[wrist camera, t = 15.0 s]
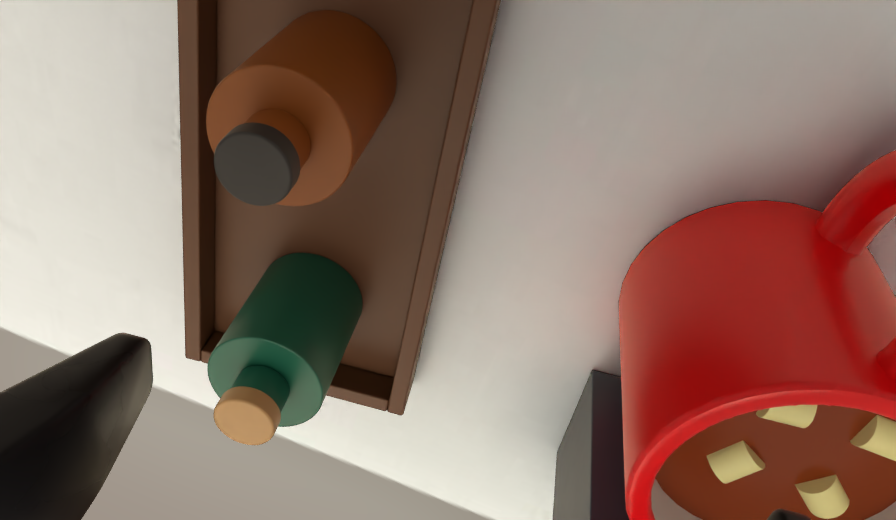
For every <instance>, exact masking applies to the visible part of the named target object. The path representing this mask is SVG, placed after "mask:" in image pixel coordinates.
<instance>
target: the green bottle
mask: <svg viewBox="0 0 896 520" xmlns="http://www.w3.org/2000/svg"><path fill="white" fill-rule="evenodd" d="M362 305H363V303H362V296H361V292H360V290H359V287H358V285H357V284H356V282H355V280H354V279H353V278H352V276H351V275H350V274H349V273H348V272H347V271H346V270H345V269H344V268H342V267H341V266H340V265H338V264H337V263H335V262H334V261H332V260H330V259H328V258H325V257H323V256H320V255H316V254H311V253H293V254H288V255H285V256H283V257H280V258H278V259H277V260H275V261H274V262H273V263H272V264H271V265H270V266H269V267H268V268H267V270H266V271H265V273H264V274H263V276H262V277H261V279H260V281H259V282H258V284H257V285H256V287H255V288H254V290H253V291H252V293H251V294H250V296H249V297H248V299H247V300H246V302H245V303H244V305H243V306H242V308H241V309H240V311H239V312H238V314H237V315H236V317H235V318H234V320H233V321H232V323H231V324H230V326H229V327H228V329H227V330H226V332H225V333H224V335H223V336H222V338H221V340H220V341H219V343H218V344H217V346H216V347H215V349H214V350H213V352H212V353H211V355H210V357H209V361H208V376H209V380H210V382H211V385H212V387H213V389H214V390H215V392H216V393H217V395H218V396H219V397H220V398H221V399H220V400H219V402H218V404H217V405H216V407H215V409H214V420H215V423H216V425H217V427H218V428H219V429H220V430H221V431H222V432H223V433H224V434H225V435H226V436H228V437H229V438H231V439H233V440H234V441H237V442H239V443H243V444H247V445H260V444H263V443H265V442H267V441H269V440H270V439H271V438H272V437H273V435H274V433H275V431H276V429H277V427H286V426H294V425H298V424H301V423H304V422H306V421H308V420H309V419H311V418H312V417H313V416H314V415H315V414H316V413H317V412H318V411H319V409H320V407H321V405H322V403H323V401H324V398H325V396H326V394H327V391H328V389H329V387H330V384H331V382H332V380H333V378H334V375H335V373H336V371H337V368H338V366H339V364H340V361H341V359H342V357H343V355H344V352H345V350H346V348H347V345H348V343H349V341H350V339H351V336H352V334H353V332H354V329H355V327H356V325H357V322H358V320H359V318H360V316H361V312H362Z"/></svg>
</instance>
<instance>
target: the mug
mask: <svg viewBox="0 0 896 520" xmlns="http://www.w3.org/2000/svg"><path fill="white" fill-rule="evenodd" d="M895 216H896V150H894V151H892V152H890V153H888V154H886V155H884V156H882V157H880V158H879V159H877V160H876V161H874V162H872V163H871V164H869V165H868V166H867V167H865V168H864V169H863V170H861V171H860V172H859V173H858V174H857V175H855V176H854V177H853V178H852V179H851V180H850V181H849V182H848V183H847V184H846V185H845V186H844V187H843V188H842V189H841V190H840V191H839V192H838V193H837V194H836V196H835V197H834V198H833V199H832V200H831V202H830V203H829V204H828V205H827V207H826V208H825V209H824V211H823V212H820V211H818V210H814V209H811V208H807V207H804V206H801V205H797V204H794V203H785V202H776V201H767V200H763V201H745V202H735V203H730V204H726V205H721V206H716V207H712V208H709V209H706V210H703V211H701V212H698V213H696V214H693V215H691V216H688V217H686V218H684V219H682V220H680V221H679V222H677V223H675V224H674V225H672V226H670V227H669V228H667V229H665V230H664V231H662V232H661V233H660V234H659V235H658V236H657V237H655V238H654V239H653V240H652V241H651V242H650V243H649V244H647V245H646V246H645V247H644V248H643V250H642V251H641V252H640V254H639V255H638V256H637V258H636V259H635V260H634V261H633V263H632V264H631V266H630V268H629V270H628V272H627V274H626V277H625V279H624V281H623V283H622V288H621V293H620V297H619V329H620V359H621V389H622V419H623V449H624V479H625V503H626V511H627V514H628V517H629V520H767V519H768V517H769V516H770V515H771V513H772V512H773V511H775V510H777V509H785V510H789V511H793V512H797V513H800V514H804V515H806V516H808V517H809V518H810V519H811V520H896V297H895V295H894V293H893V292H892V290H891V288H890V286H889V284H888V283H887V281H886V279H885V277H884V275H883V274H882V272H881V270H880V268H879V266H878V265H877V263H876V261H875V259H874V257H873V256H872V254H871V253H870V251H869V250H868V249H867V246H868V245H869V244H870V242H871V241H872V240H873V238H874V237H875V236H876V235H877V234H878V233H879V231H880V230H881V229H882V228H883V227H884V226H885V225H886V224H887V223H888V222H889V221H890V220H891V219H892V218H894V217H895Z"/></svg>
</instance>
